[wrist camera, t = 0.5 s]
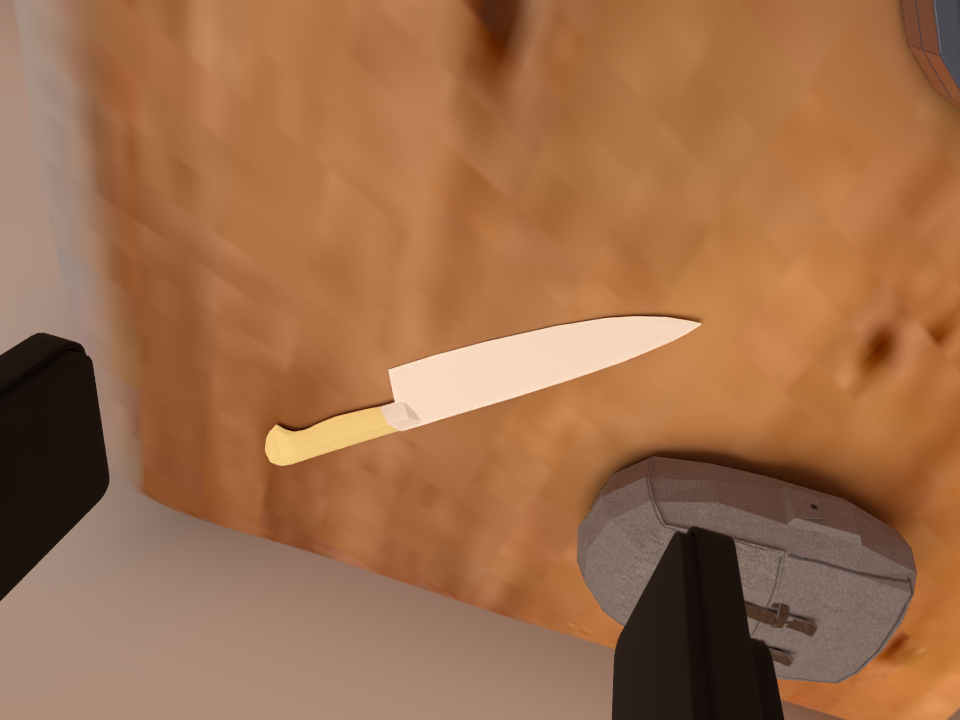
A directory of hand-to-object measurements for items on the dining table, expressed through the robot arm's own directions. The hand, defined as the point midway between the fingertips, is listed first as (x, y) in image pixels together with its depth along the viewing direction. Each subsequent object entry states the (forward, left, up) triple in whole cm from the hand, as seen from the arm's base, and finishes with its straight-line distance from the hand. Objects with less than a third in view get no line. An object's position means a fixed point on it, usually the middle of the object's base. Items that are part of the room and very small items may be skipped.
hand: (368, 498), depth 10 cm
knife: (+18, -3, -29) cm, 35 cm away
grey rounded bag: (+24, +18, -29) cm, 42 cm away
